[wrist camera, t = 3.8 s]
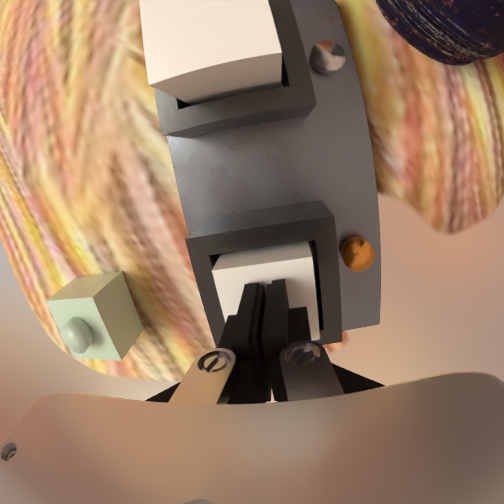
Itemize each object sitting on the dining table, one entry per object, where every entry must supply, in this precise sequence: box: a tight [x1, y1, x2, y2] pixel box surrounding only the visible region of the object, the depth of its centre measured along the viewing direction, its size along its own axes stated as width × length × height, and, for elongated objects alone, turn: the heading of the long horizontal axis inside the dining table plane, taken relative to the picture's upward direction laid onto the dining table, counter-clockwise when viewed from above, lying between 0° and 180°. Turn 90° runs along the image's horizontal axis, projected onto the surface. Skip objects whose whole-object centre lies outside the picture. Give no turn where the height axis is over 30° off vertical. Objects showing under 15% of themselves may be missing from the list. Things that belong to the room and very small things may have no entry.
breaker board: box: [154, 0, 381, 348], centre depth 14 cm, size 22×11×6 cm, turn 10°
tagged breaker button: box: [212, 241, 320, 341], centre depth 14 cm, size 4×4×5 cm
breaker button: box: [139, 0, 282, 106], centre depth 8 cm, size 4×4×5 cm
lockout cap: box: [46, 271, 144, 361], centre depth 19 cm, size 5×5×6 cm
